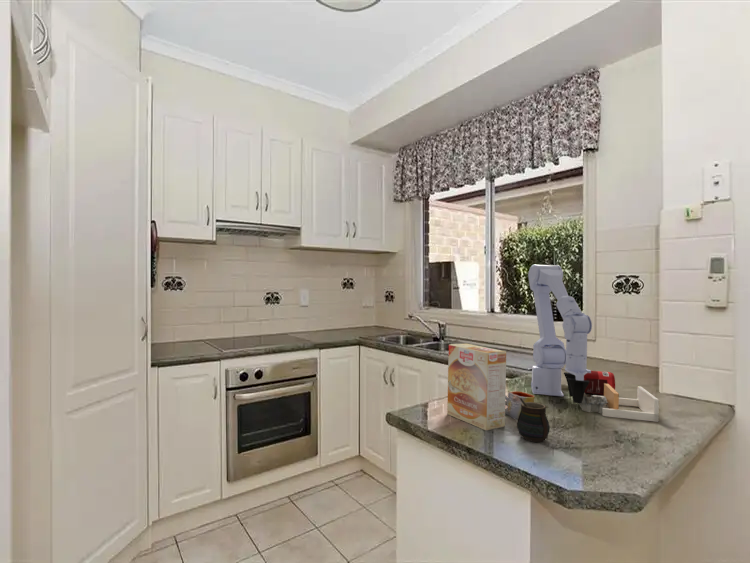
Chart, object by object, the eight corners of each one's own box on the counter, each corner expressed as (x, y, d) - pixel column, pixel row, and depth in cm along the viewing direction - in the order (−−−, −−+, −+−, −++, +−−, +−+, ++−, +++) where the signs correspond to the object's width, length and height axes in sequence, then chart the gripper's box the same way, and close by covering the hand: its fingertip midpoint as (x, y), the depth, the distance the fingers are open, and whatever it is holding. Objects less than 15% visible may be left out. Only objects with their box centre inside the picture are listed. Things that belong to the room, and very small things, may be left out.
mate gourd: (556, 441, 97) (557, 398, 97) (535, 447, 94) (535, 402, 94) (530, 431, 104) (531, 391, 104) (509, 436, 100) (510, 394, 100)
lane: (602, 415, 118) (603, 394, 118) (592, 401, 132) (592, 382, 132) (658, 421, 113) (658, 399, 114) (640, 406, 128) (641, 386, 128)
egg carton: (577, 402, 132) (577, 389, 132) (604, 406, 129) (604, 392, 129) (580, 411, 122) (580, 397, 122) (609, 415, 119) (609, 401, 119)
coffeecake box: (446, 414, 116) (447, 344, 116) (465, 410, 120) (466, 342, 120) (485, 431, 103) (487, 352, 103) (506, 426, 107) (507, 350, 107)
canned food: (609, 374, 146) (575, 371, 149) (614, 370, 139) (578, 367, 142) (611, 397, 143) (575, 393, 147) (616, 393, 136) (578, 390, 140)
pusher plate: (613, 414, 118) (614, 393, 118) (603, 402, 130) (604, 383, 130) (618, 415, 118) (618, 393, 118) (608, 403, 130) (608, 383, 130)
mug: (538, 417, 115) (539, 393, 115) (530, 423, 110) (531, 398, 110) (496, 409, 122) (497, 386, 123) (487, 414, 117) (487, 390, 117)
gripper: (595, 359, 119) (594, 407, 119) (586, 352, 133) (585, 394, 132) (568, 357, 121) (567, 404, 121) (562, 350, 135) (561, 392, 135)
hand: (575, 399), depth 127 cm, fingers open, 7 cm apart
